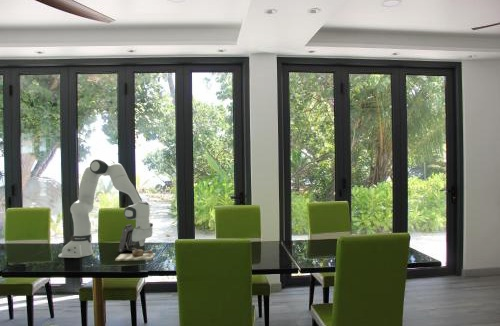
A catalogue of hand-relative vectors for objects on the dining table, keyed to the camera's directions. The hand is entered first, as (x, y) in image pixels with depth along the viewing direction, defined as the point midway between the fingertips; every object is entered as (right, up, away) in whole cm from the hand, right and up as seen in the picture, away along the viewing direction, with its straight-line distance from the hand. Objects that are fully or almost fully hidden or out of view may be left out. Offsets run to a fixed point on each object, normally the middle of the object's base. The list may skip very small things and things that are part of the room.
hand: (141, 245), depth 257 cm
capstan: (-1, -7, +5) cm, 9 cm away
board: (-5, -9, +3) cm, 10 cm away
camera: (-14, -9, +23) cm, 28 cm away
